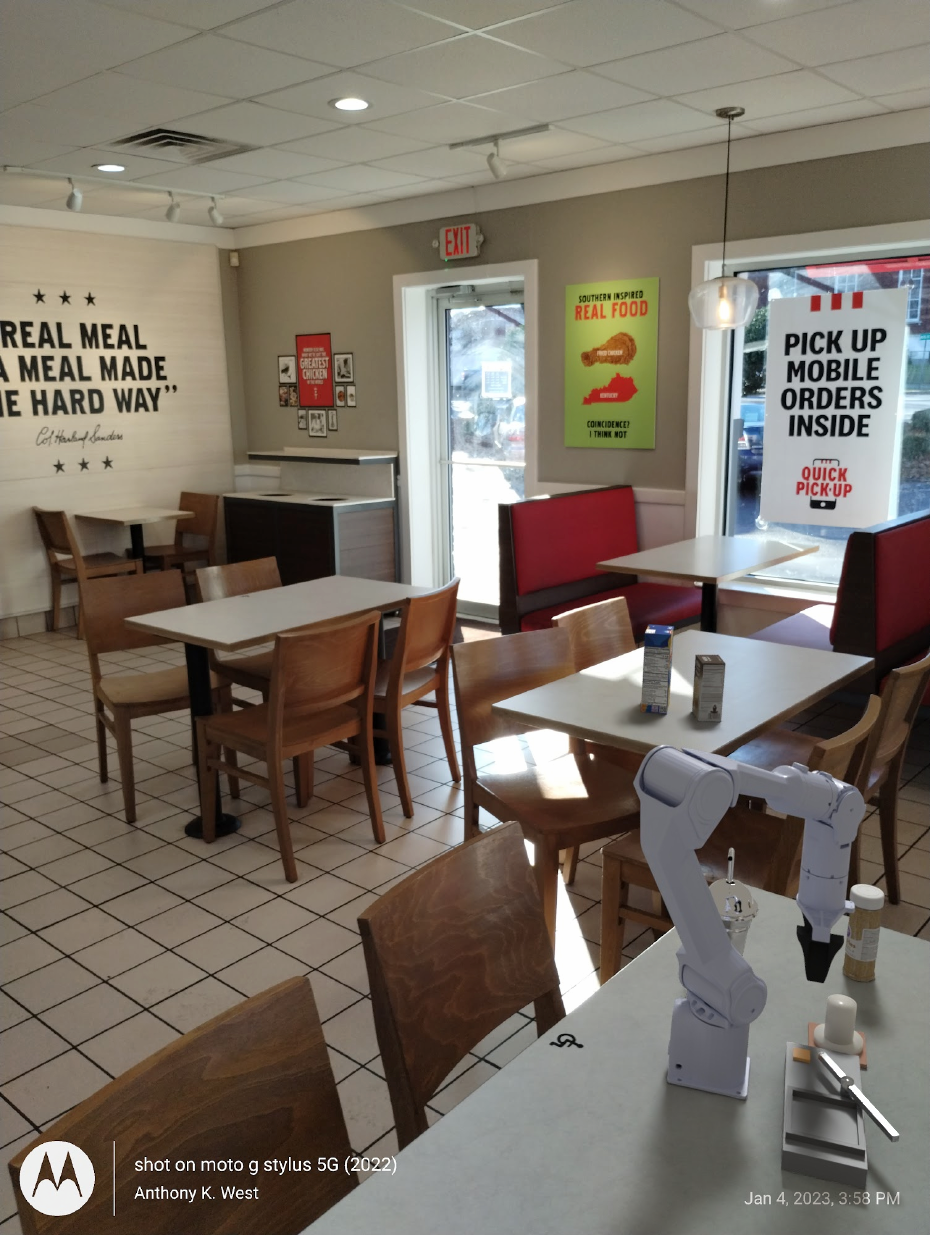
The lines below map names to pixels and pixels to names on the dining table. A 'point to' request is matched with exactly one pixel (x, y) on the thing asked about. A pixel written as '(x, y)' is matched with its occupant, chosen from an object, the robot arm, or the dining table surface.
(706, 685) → the coffee box
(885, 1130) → the clip
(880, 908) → the sprinkles bottle
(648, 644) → the beverage box
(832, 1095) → the power strip
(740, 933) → the cup with straw
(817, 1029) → the plug
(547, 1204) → the dining table surface
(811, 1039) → the mat
